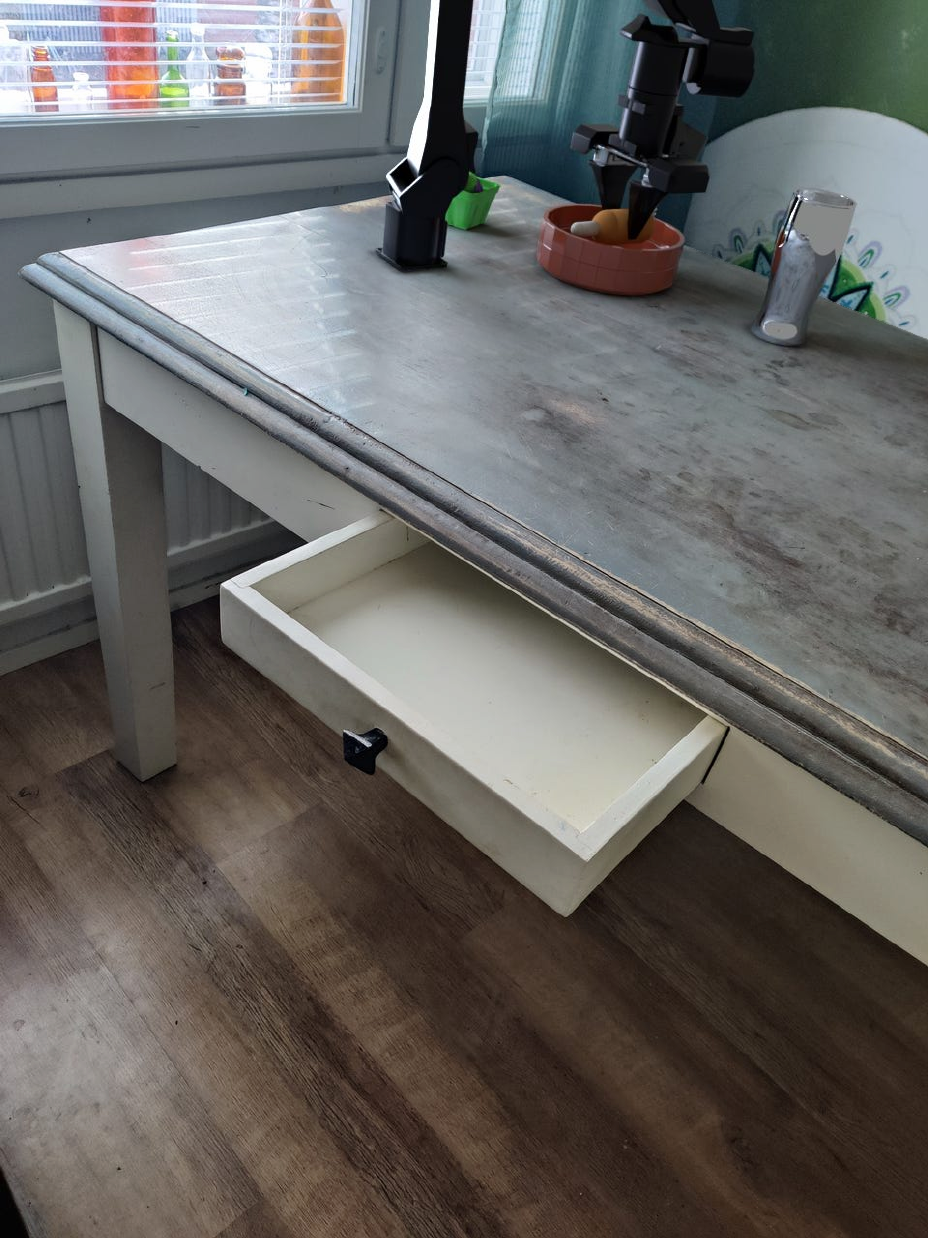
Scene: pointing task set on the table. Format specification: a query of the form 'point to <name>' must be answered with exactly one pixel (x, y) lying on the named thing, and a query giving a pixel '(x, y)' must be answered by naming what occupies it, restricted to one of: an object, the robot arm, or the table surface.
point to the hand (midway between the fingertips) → (621, 233)
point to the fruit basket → (472, 203)
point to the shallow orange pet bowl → (607, 255)
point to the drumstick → (612, 228)
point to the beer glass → (802, 262)
